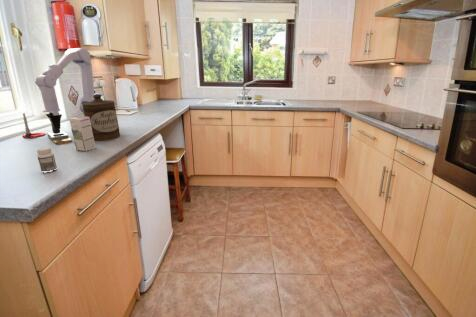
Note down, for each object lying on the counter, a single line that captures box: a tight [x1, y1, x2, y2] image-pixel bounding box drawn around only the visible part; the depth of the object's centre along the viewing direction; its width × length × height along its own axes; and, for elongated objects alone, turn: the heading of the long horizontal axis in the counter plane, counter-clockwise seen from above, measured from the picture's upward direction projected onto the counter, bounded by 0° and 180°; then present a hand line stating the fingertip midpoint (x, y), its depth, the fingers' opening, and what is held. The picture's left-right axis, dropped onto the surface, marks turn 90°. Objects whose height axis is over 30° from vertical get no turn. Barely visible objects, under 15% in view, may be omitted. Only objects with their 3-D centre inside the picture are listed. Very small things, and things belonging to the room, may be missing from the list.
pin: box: [48, 118, 61, 134], centre depth 138 cm, size 4×4×8 cm
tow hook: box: [22, 112, 46, 139], centre depth 146 cm, size 8×13×9 cm
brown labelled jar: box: [82, 93, 121, 142], centre depth 139 cm, size 15×15×22 cm
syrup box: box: [68, 115, 97, 152], centre depth 121 cm, size 6×6×14 cm
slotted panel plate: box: [47, 130, 73, 145], centre depth 140 cm, size 7×19×2 cm, turn 42°
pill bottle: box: [36, 146, 58, 172], centre depth 98 cm, size 5×5×8 cm
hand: (56, 128), depth 139 cm, fingers closed on pin, 4 cm apart
